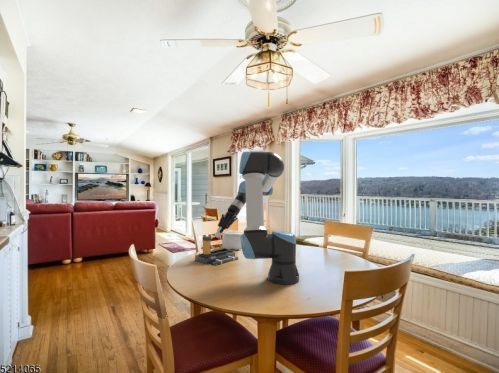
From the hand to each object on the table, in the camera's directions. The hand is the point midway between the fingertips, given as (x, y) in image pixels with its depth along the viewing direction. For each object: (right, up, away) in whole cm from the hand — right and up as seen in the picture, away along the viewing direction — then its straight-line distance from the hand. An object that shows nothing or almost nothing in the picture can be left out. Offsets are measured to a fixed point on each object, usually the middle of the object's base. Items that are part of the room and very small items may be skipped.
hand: (216, 236), depth 172 cm
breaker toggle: (-5, -10, -5) cm, 13 cm away
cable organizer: (+9, -14, +29) cm, 34 cm away
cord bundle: (+6, -14, -6) cm, 16 cm away
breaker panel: (0, -14, 0) cm, 14 cm away
